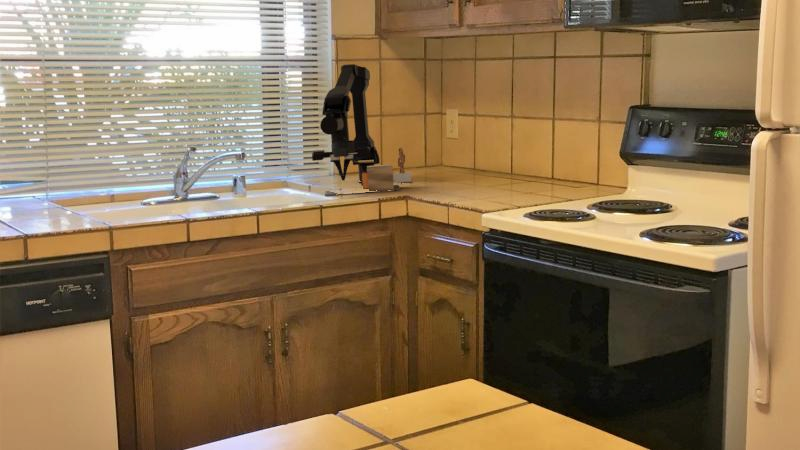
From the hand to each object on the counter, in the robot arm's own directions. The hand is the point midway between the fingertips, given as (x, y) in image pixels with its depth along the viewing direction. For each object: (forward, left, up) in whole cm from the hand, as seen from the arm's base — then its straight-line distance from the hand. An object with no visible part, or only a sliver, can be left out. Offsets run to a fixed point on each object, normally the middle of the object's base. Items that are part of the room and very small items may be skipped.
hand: (343, 180), depth 294 cm
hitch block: (0, +12, -4) cm, 13 cm away
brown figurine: (-16, +20, -4) cm, 26 cm away
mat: (0, +6, -4) cm, 7 cm away
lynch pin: (0, +14, -3) cm, 14 cm away
